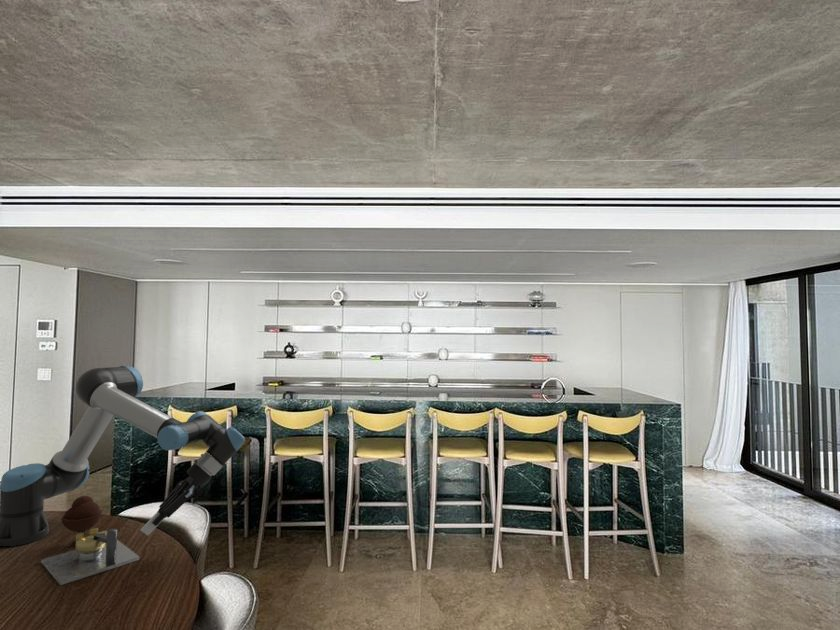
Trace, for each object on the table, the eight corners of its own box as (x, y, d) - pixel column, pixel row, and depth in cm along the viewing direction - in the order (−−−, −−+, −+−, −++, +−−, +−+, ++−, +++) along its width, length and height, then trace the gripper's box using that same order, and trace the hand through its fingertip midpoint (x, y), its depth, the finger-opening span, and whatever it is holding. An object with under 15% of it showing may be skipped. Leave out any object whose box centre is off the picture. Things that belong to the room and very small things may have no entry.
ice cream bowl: (51, 548, 154) (54, 501, 155) (83, 534, 165) (85, 490, 166) (78, 552, 152) (80, 504, 152) (108, 538, 163) (110, 493, 163)
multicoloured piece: (68, 559, 144) (70, 527, 145) (96, 549, 151) (97, 518, 152) (99, 570, 138) (101, 536, 138) (126, 558, 145) (128, 526, 146)
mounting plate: (41, 562, 145) (42, 549, 145) (115, 541, 160) (116, 529, 160) (60, 585, 132) (61, 570, 132) (139, 559, 147) (139, 546, 148)
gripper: (191, 458, 162) (132, 518, 151) (199, 467, 151) (136, 532, 141) (208, 471, 165) (151, 532, 154) (217, 481, 154) (156, 546, 143)
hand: (144, 532), depth 147 cm, fingers closed
